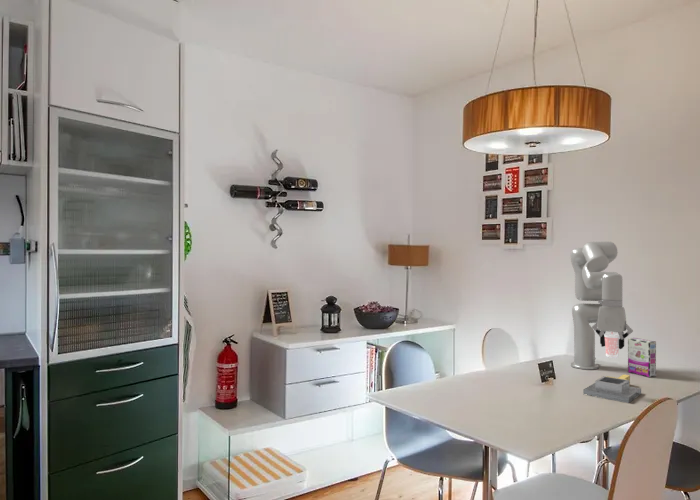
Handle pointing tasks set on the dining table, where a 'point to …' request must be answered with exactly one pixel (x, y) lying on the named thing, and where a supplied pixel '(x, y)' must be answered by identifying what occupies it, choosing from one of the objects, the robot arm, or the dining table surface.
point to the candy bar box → (642, 357)
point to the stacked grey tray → (613, 389)
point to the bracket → (623, 377)
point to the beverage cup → (612, 344)
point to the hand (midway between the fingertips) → (612, 346)
